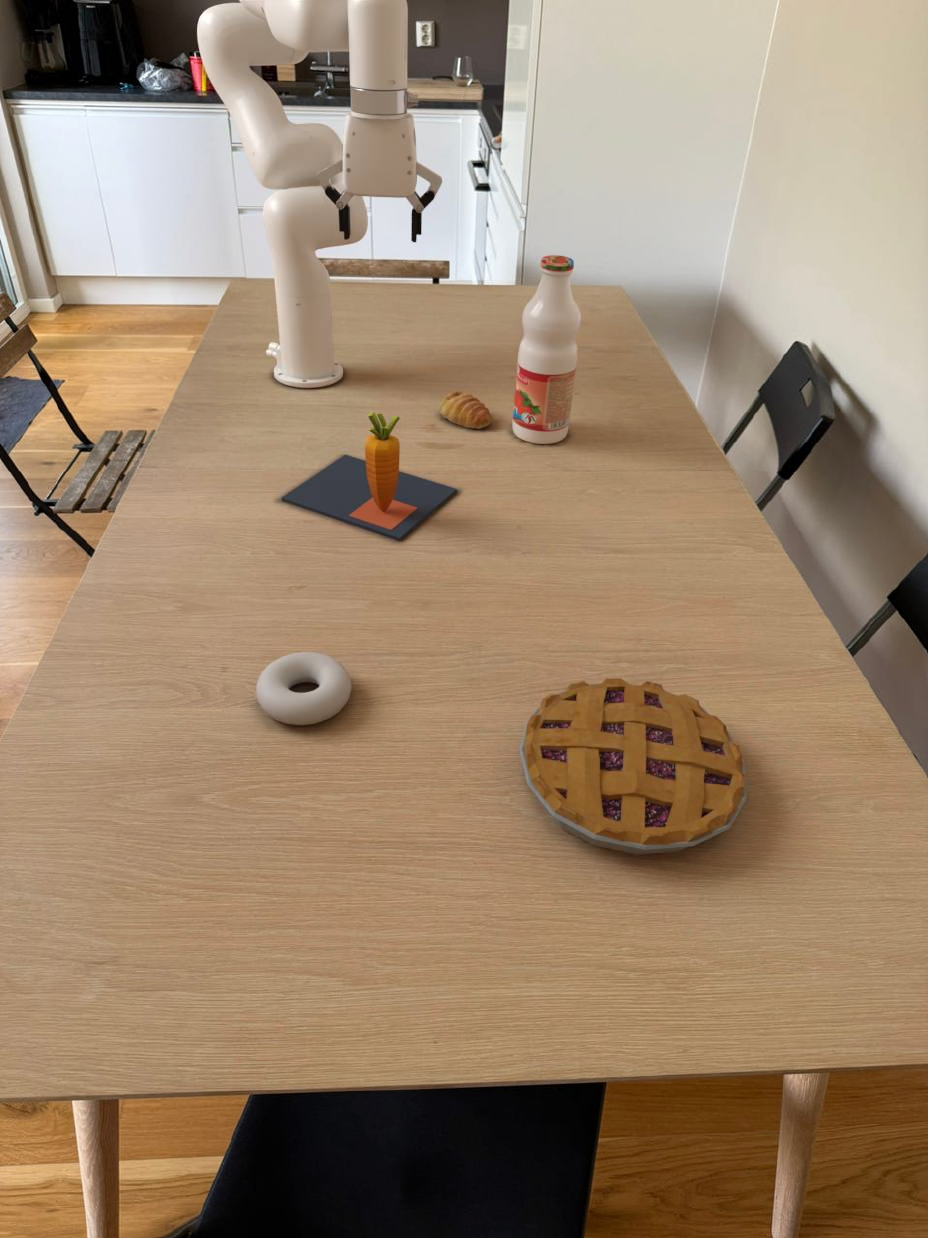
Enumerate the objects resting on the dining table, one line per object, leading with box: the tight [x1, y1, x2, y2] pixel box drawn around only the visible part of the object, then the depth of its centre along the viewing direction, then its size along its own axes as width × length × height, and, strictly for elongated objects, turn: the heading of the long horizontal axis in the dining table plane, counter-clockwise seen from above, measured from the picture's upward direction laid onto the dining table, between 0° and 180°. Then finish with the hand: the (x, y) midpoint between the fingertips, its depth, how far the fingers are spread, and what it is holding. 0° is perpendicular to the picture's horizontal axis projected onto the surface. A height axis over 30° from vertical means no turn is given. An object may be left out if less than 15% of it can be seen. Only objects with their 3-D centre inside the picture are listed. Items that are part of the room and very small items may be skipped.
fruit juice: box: [511, 254, 582, 445], centre depth 140 cm, size 9×9×28 cm
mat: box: [280, 454, 458, 542], centre depth 130 cm, size 20×16×1 cm
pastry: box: [438, 390, 493, 430], centre depth 150 cm, size 9×7×4 cm
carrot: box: [364, 411, 401, 512], centre depth 121 cm, size 5×5×15 cm
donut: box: [255, 651, 353, 726], centre depth 94 cm, size 10×4×10 cm
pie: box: [519, 677, 747, 856], centre depth 86 cm, size 22×22×5 cm
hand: (380, 238), depth 128 cm, fingers open, 9 cm apart
